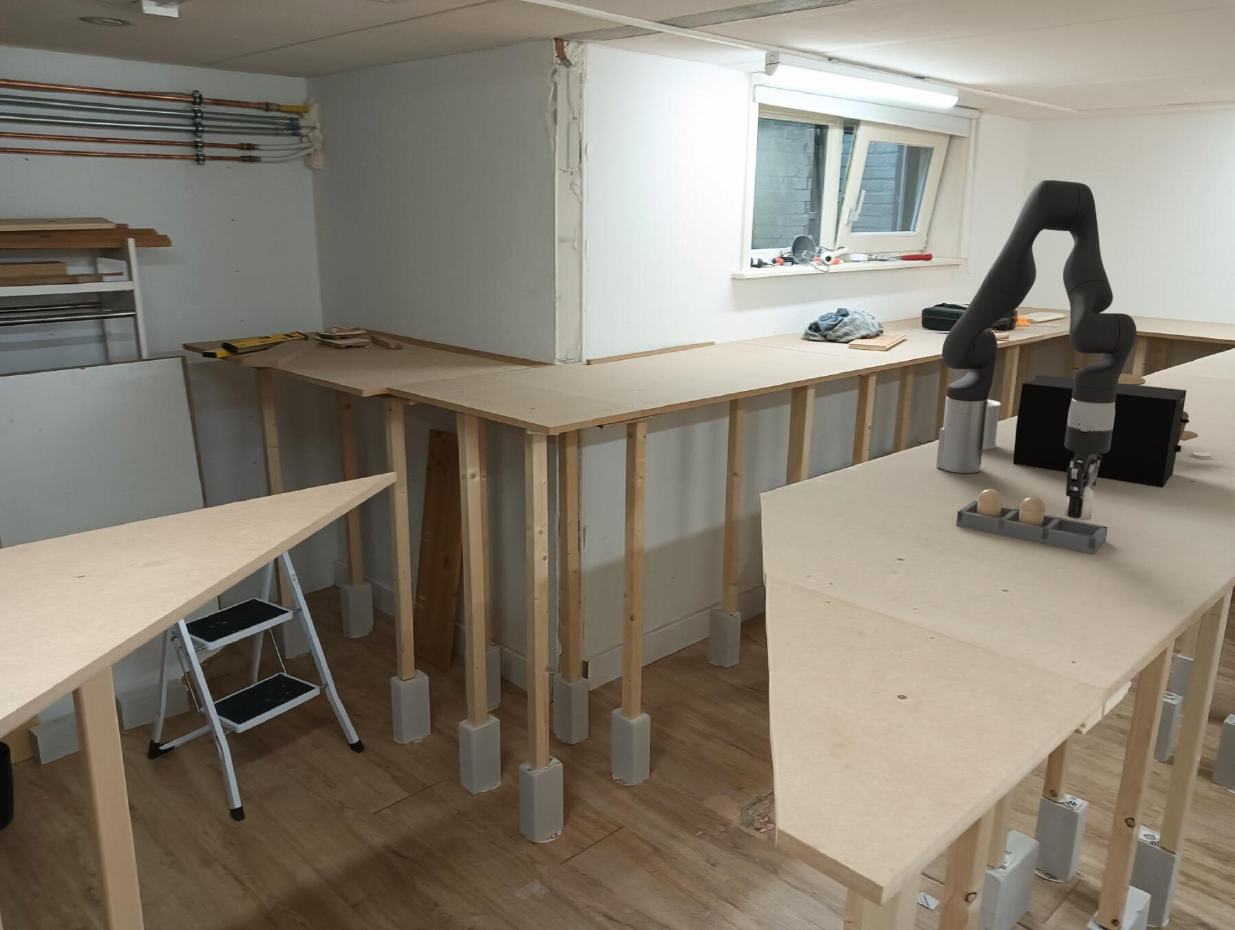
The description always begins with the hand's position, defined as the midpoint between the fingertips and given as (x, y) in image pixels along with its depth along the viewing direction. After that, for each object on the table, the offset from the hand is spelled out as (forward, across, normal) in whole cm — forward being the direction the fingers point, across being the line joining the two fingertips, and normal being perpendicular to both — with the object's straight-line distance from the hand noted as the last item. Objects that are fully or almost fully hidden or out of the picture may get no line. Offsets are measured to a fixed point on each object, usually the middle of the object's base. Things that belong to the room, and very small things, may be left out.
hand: (1077, 513), depth 175 cm
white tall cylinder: (+6, -61, -40) cm, 73 cm away
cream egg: (+1, 0, 0) cm, 1 cm away
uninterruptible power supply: (+6, -56, -10) cm, 57 cm away
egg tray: (+6, 0, -8) cm, 10 cm away
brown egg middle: (+5, 0, -8) cm, 9 cm away
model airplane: (+6, -81, -10) cm, 82 cm away
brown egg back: (+5, 0, -16) cm, 17 cm away
